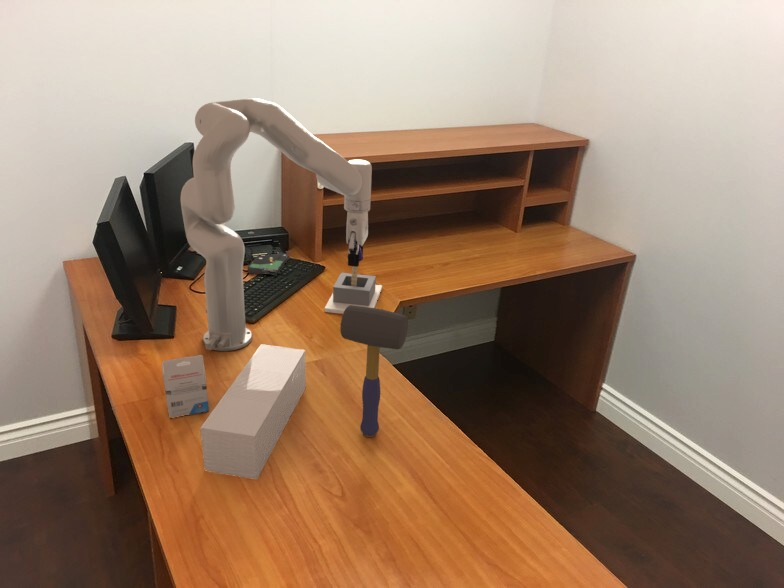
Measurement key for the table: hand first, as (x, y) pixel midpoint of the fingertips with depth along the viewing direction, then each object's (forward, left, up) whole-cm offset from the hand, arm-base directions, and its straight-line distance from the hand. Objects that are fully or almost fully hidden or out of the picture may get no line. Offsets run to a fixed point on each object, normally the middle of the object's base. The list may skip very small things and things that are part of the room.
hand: (355, 261), depth 187 cm
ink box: (-63, +25, -13) cm, 69 cm away
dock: (0, 0, -13) cm, 13 cm away
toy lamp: (0, 0, -12) cm, 12 cm away
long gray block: (-65, +8, -13) cm, 67 cm away
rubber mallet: (-63, -16, -13) cm, 66 cm away
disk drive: (+18, +33, -14) cm, 40 cm away
